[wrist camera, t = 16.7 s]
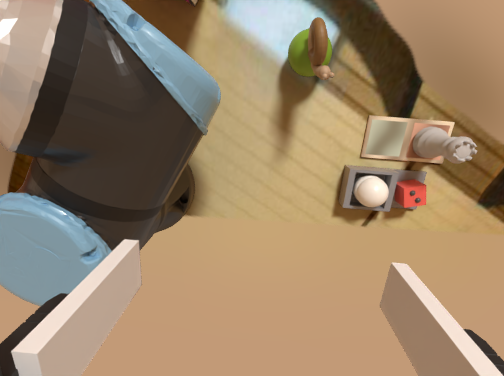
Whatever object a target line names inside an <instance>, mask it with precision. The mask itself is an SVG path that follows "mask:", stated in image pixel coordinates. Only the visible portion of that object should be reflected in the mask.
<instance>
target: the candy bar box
mask: <svg viewBox="0 0 504 376" xmlns="http://www.w3.org/2000/svg"><path fill="white" fill-rule="evenodd" d="M186 1H187V2H188V3H190V4H191V5H192V6H194V7H195V5H196V3H197V2H198V0H186Z"/></svg>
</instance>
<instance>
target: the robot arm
mask: <svg viewBox="0 0 504 376" xmlns="http://www.w3.org/2000/svg"><path fill="white" fill-rule="evenodd" d="M89 1H90V2H89V3H88V2H86V1H84V0H0V143H1V144H2V146H3V147H4V148H5V149H6V150H7V151H12V152H15V153H20V154H24V155H29V156H33V157H34V158H33V160H32V163H31V166H30V168H29V171H28V174H27V176H26V179H25V182H24V184H23V186H22V187H21V188H20V189H19V190H18V191H17V192H15V193H9V194H3V195H1V196H0V285H2V286H3V287H4V288H5V289H7V290H8V291H10V292H11V293H13V294H14V295H16V296H18V297H20V298H21V299H23V300H25V301H28V302H30V303H32V304H35V305H38V306H41V307H40V308H39V309H38V310H36V312H35V314H32V315H31V316H30V317H29V318H28V319H27V320H26V322H25V323H23V324H21V325H20V326H19V327H18V328H17V329H16V330H15V331H14V332H13V333H12V334H11V335H9V336H8V338H6V339H5V340H4V341H3V342H2V343H1V344H0V376H81V375H82V373H83V372H84V370H85V369H86V367H87V366H88V364H89V363H90V361H91V360H92V358H93V357H94V355H95V354H96V352H97V351H98V349H99V348H100V346H101V345H102V343H103V342H104V340H105V339H106V337H107V336H108V334H109V333H110V331H111V330H112V328H113V327H114V325H115V324H116V322H117V321H118V319H119V318H120V316H121V315H122V313H123V312H124V310H125V309H126V307H127V306H128V305H129V303H130V302H131V300H132V298H133V297H134V295H135V294H136V292H137V291H138V290H139V288H140V286H141V285H142V280H141V265H140V250H141V249H142V247H143V246H144V245H145V244H146V243H147V242H148V240H149V239H150V238H151V237H152V236H153V234H154V233H156V232H159V231H162V230H164V229H167V228H169V227H171V226H173V225H174V224H175V223H177V222H178V221H179V220H180V219H181V218H182V217H183V216H184V214H185V213H186V212H187V210H188V209H189V207H190V205H191V203H192V200H193V197H194V191H195V184H194V178H193V174H192V171H191V169H190V166H189V165H188V161H189V159H190V158H191V156H192V154H193V152H194V150H195V149H196V147H197V145H198V143H199V142H200V140H201V138H202V136H203V135H206V134H207V132H208V130H207V127H208V125H209V123H210V121H211V119H212V117H213V115H214V113H215V111H216V109H217V107H218V105H219V103H220V98H221V93H220V88H219V86H218V84H217V82H216V81H215V79H214V78H213V77H212V76H211V75H210V74H209V73H208V72H207V71H206V70H204V69H203V68H202V67H201V66H200V65H199V64H198V63H197V62H195V61H194V60H193V59H192V58H191V57H190V56H189V55H187V54H186V53H185V52H184V51H183V50H182V49H180V48H179V47H178V46H177V45H176V44H174V43H173V42H172V41H171V40H170V39H168V38H167V37H166V36H165V35H164V34H162V33H161V32H160V31H159V30H158V29H156V28H155V27H154V26H153V25H151V24H150V23H149V22H147V21H146V20H145V19H144V18H143V17H141V16H140V15H139V14H138V13H136V12H135V11H134V10H132V9H131V8H130V7H129V6H128V5H127V4H126V3H125V2H123V1H122V0H89ZM380 308H381V309H382V311H383V313H384V315H385V317H386V318H387V320H388V322H389V324H390V326H391V327H392V329H393V331H394V333H395V335H396V336H397V338H398V340H399V342H400V343H401V345H402V347H403V349H404V351H405V352H406V354H407V356H408V358H409V360H410V361H411V363H412V365H413V367H414V369H415V370H416V372H417V374H418V376H504V361H503V360H502V359H501V358H500V356H497V353H496V352H495V351H494V350H493V349H492V348H491V347H490V346H489V345H488V344H487V342H486V341H485V340H483V339H482V338H481V337H479V336H478V335H477V334H475V333H474V332H473V331H471V330H467V329H462V327H461V326H460V325H459V324H458V323H457V322H456V321H455V319H454V318H453V317H452V316H451V315H450V314H449V313H448V311H447V310H446V309H445V308H444V307H443V306H442V304H441V303H440V302H439V301H438V300H437V299H436V297H434V295H433V294H432V293H431V292H430V291H429V289H428V288H427V287H426V286H425V285H424V284H423V282H422V281H421V280H420V279H419V278H418V277H417V276H416V274H415V273H414V272H413V271H412V270H411V269H410V267H409V266H408V265H407V264H402V263H391V266H390V269H389V273H388V277H387V281H386V284H385V288H384V292H383V295H382V299H381V303H380Z"/></svg>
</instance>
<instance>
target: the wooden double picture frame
mask: <svg viewBox="0 0 504 376" xmlns="http://www.w3.org/2000/svg"><path fill="white" fill-rule="evenodd" d="M454 123H455V122H446V121H433V120H420V119H407V118H395V117H382V116H369V117H368V122H367V127H366V132H365V137H364V142H363V147H362V152H361V157H368V158H380V159H393V160H405V161H417V162H429V163H441V164H442V163H443V160H444V157H443V156H438V157H435V158H425V157H421V156H419V155H417V154H416V153H415V151H414V150H413V141H414V138H415V136H416V135H417V133H418V132H419V131H421V130H422V129H423V128H427V127H437V128H441V129H442V130H444V131H446V133H447V134H448V136H449V137H450V136H451V133H452V130H453V126H454Z"/></svg>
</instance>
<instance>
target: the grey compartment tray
mask: <svg viewBox="0 0 504 376" xmlns="http://www.w3.org/2000/svg"><path fill="white" fill-rule="evenodd" d="M426 173H427V172H422V171H410V170H398V169H386V168H374V167H362V166H350V165H345V169H344V175H343V180H342V186H341V191H340V196H339V203H340V205H341V206H342V207H343V208H352V209H364V210H375V211H387V212H390V208H391V207H393V208H405V209H416V208H417V206H420V205H426V185H425V184H423V183H424V180H425V176H426ZM363 174H373V175H375V176H377V177H378V178H380V179H381V180H383V181H384V182H385V183H386V185H387V187H388V190H389V194H388V198H387V200H386V201H385V202H384V203H383V204H382V205H380V206H377V207H367V206H364V205H363V204H361V203H360V202H359V201H358V200H357V199H356V198H355V197H354V195H353V193H352V190H353V185H354V180H355V179H356V178H357V177H359V176H360V175H363Z"/></svg>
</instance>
